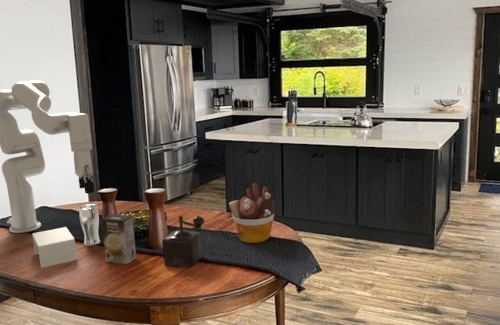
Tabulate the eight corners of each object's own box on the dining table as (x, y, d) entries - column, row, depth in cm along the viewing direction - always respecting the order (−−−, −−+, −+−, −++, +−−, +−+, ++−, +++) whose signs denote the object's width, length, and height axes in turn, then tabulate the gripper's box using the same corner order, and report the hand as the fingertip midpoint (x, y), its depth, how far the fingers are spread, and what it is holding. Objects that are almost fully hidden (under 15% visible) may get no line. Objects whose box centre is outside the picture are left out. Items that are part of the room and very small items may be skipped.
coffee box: (105, 262, 173) (100, 218, 170) (115, 255, 179) (111, 213, 175) (127, 264, 170) (123, 220, 167) (137, 257, 176) (133, 214, 172)
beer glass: (95, 246, 188) (91, 209, 185) (79, 246, 189) (75, 209, 186) (104, 240, 195) (100, 204, 192) (88, 239, 196) (84, 203, 193)
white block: (35, 253, 184) (32, 233, 182) (68, 246, 189) (66, 226, 188) (41, 268, 170) (38, 246, 168) (77, 259, 176) (74, 238, 174)
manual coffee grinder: (162, 266, 167) (158, 216, 163) (175, 254, 177) (172, 206, 174) (204, 270, 163) (201, 218, 159) (216, 257, 173) (213, 208, 169)
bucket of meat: (271, 248, 179) (270, 196, 175) (228, 247, 182) (225, 195, 178) (278, 229, 198) (277, 182, 194) (238, 228, 201) (236, 182, 197)
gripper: (66, 145, 190) (72, 187, 193) (75, 150, 175) (81, 196, 178) (86, 142, 193) (91, 184, 197) (97, 147, 179) (102, 192, 182)
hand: (86, 190), depth 187 cm, fingers open, 9 cm apart
